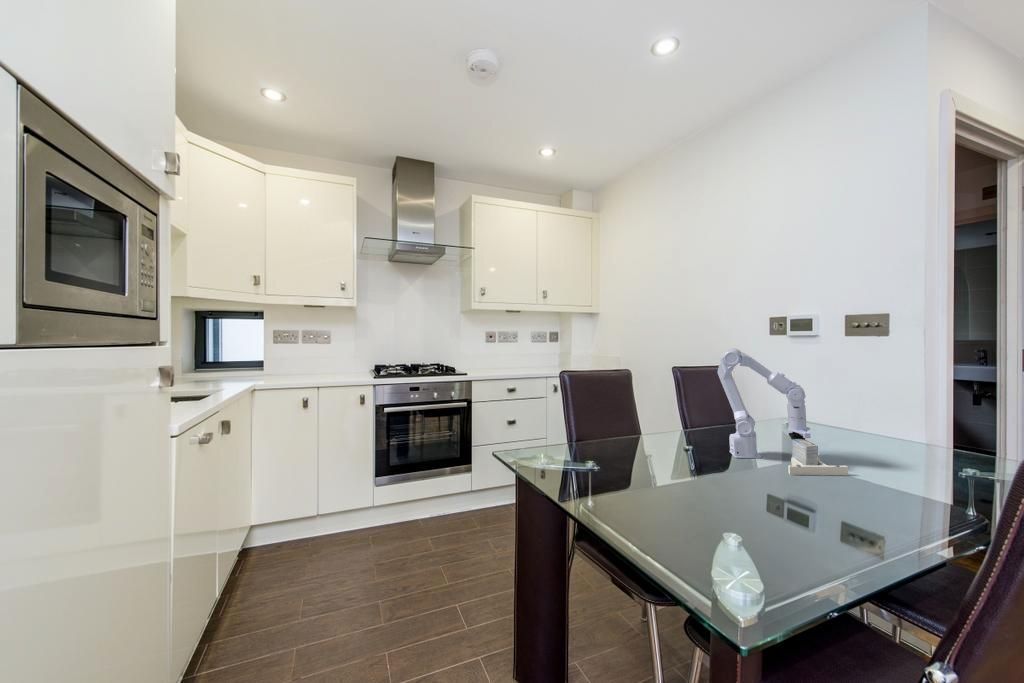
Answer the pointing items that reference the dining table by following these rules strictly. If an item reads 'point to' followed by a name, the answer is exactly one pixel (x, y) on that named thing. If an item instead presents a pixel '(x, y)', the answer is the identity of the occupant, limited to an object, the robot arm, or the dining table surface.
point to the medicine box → (805, 452)
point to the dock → (815, 469)
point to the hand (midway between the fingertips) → (798, 451)
